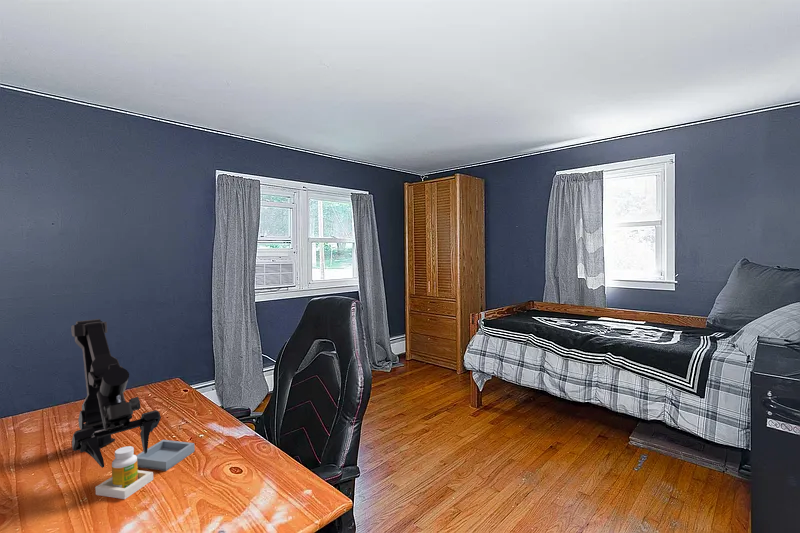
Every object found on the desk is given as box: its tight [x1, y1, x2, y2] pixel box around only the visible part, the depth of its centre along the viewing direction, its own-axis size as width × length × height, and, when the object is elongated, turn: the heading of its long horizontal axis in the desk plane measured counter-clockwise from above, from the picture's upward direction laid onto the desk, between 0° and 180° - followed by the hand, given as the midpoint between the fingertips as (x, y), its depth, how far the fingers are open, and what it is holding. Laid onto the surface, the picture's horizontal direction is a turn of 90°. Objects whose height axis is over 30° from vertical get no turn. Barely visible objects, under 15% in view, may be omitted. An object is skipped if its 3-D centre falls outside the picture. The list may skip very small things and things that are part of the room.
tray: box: [135, 439, 196, 472], centre depth 117 cm, size 11×11×2 cm
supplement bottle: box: [111, 445, 139, 488], centre depth 103 cm, size 5×5×10 cm
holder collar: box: [95, 469, 154, 500], centre depth 104 cm, size 9×9×2 cm
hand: (125, 459), depth 103 cm, fingers open, 9 cm apart
